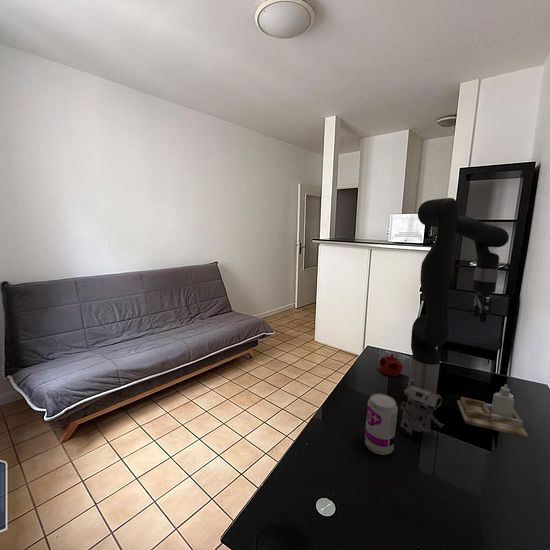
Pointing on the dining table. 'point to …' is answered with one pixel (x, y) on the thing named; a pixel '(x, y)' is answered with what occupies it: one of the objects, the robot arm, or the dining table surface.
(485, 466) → the dining table surface
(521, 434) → the wooden compartment tray
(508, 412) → the eye dropper bottle
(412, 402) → the figurine
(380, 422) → the supplement can
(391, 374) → the pomegranate
